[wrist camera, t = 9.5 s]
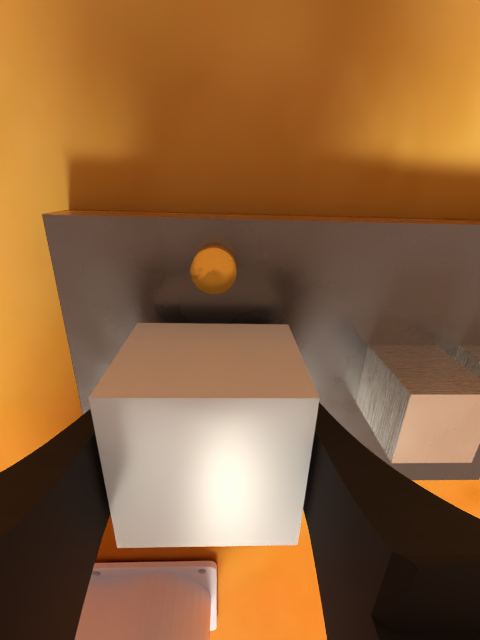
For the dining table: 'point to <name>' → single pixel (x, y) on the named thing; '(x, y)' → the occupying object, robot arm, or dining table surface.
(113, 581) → the robot arm
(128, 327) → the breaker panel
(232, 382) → the cap
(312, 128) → the dining table surface
